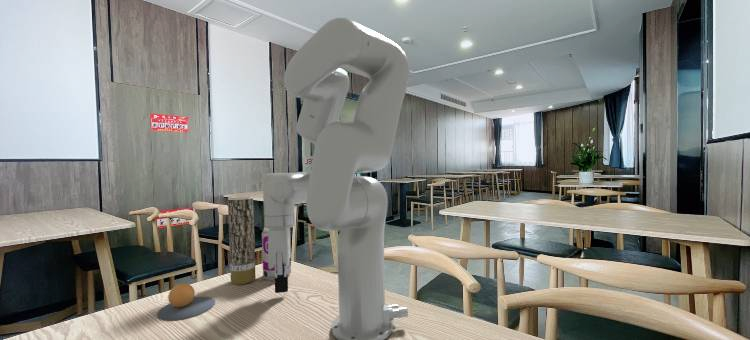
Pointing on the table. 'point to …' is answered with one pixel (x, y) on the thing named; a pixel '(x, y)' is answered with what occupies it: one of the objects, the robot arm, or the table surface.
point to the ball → (181, 295)
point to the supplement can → (267, 272)
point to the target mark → (186, 309)
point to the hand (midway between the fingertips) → (281, 291)
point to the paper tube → (241, 239)
